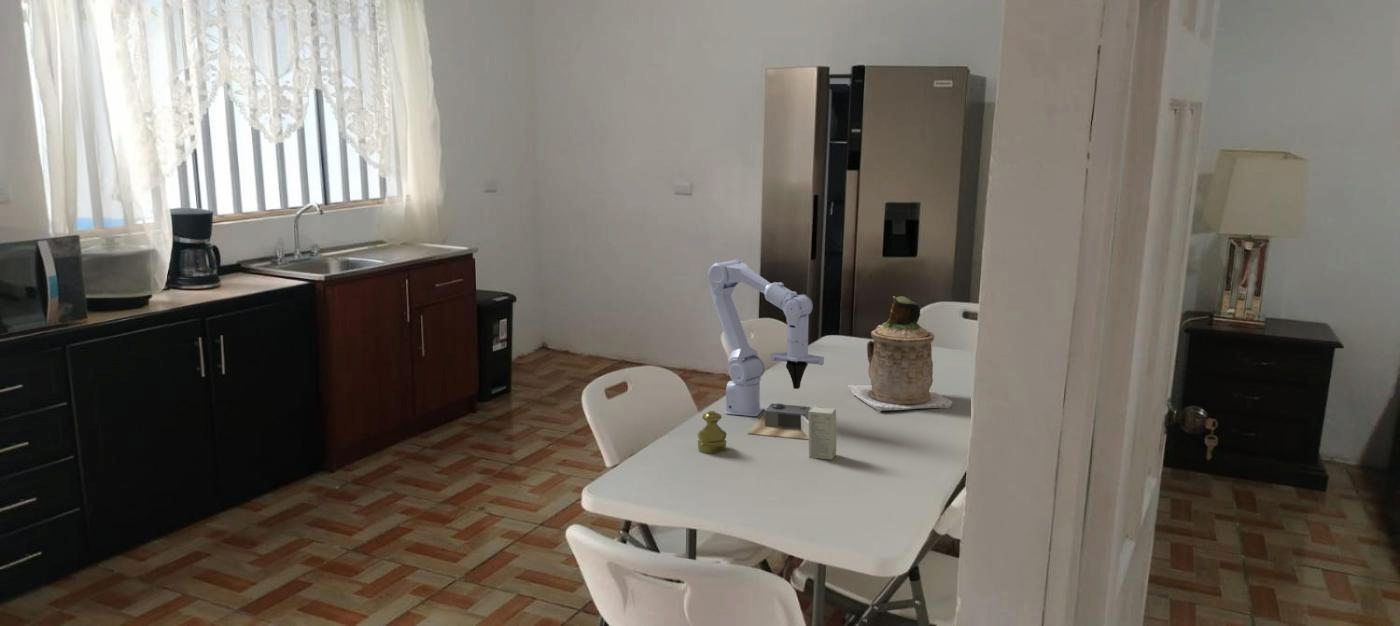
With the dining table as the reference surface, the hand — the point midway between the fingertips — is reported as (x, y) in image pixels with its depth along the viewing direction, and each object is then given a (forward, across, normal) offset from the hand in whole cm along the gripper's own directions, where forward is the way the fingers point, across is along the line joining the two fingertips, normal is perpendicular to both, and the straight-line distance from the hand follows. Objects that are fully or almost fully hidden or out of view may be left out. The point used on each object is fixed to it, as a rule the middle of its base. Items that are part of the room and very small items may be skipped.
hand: (796, 387), depth 268 cm
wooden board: (+10, -1, -5) cm, 11 cm away
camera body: (+10, -2, -3) cm, 11 cm away
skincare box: (+10, +13, -24) cm, 29 cm away
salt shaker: (+10, -15, -27) cm, 33 cm away
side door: (+9, +5, -9) cm, 14 cm away
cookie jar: (+10, +24, +31) cm, 41 cm away
